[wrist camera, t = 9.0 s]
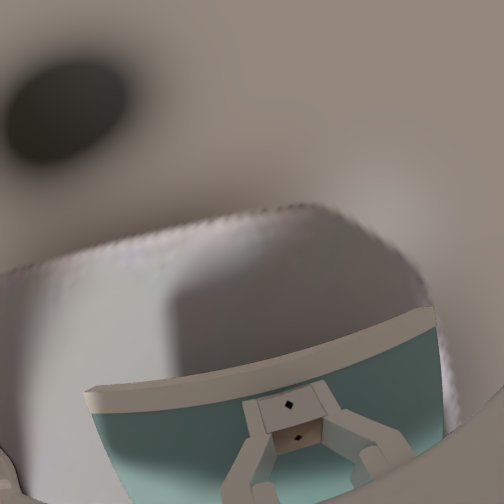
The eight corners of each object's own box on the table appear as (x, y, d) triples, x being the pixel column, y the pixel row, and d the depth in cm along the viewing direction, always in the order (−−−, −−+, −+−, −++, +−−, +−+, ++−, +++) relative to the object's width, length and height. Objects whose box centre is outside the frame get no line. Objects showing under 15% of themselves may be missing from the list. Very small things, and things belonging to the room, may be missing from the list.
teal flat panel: (187, 576, 6) (83, 392, 9) (189, 563, 7) (96, 385, 10) (436, 501, 8) (433, 305, 11) (425, 494, 9) (416, 307, 12)
